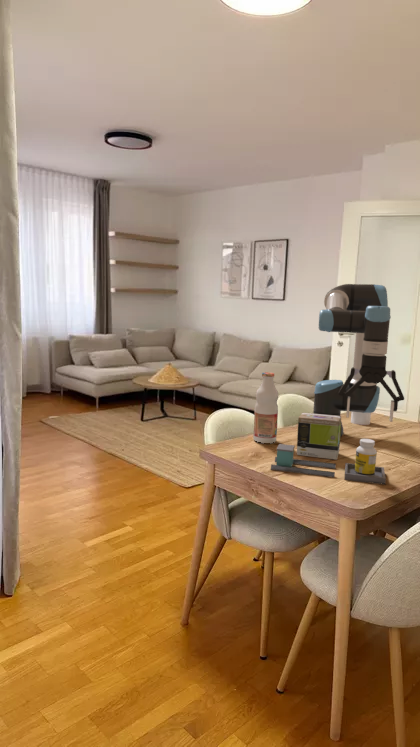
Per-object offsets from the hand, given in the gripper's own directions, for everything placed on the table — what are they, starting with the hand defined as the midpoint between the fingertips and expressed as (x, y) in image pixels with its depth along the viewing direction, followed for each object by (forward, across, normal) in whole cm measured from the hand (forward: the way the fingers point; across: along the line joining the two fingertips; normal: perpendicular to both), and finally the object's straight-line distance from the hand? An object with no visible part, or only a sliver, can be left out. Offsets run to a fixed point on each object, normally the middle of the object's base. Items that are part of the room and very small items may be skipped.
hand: (368, 418), depth 165 cm
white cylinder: (+21, 0, +79) cm, 81 cm away
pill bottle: (+19, 0, 0) cm, 19 cm away
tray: (+20, 0, 0) cm, 20 cm away
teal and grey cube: (+20, -26, 0) cm, 33 cm away
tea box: (+20, -16, +19) cm, 32 cm away
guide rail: (+20, -20, 0) cm, 28 cm away
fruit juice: (+20, -38, +29) cm, 52 cm away
